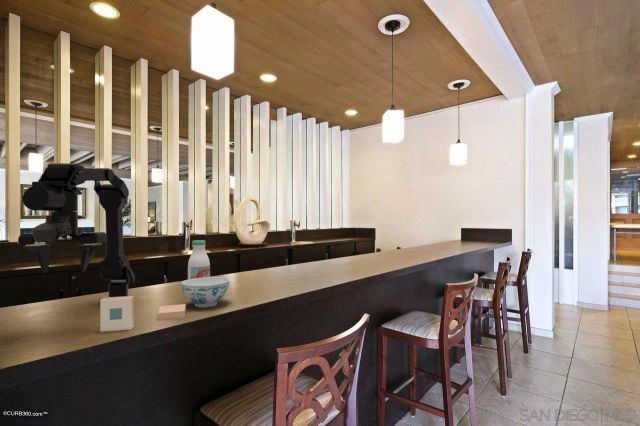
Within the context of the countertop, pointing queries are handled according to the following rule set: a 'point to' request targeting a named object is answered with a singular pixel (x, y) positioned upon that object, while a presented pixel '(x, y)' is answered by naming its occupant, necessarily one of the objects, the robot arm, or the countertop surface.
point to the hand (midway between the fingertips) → (64, 271)
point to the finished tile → (172, 312)
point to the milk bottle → (198, 261)
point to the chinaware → (205, 290)
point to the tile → (116, 313)
